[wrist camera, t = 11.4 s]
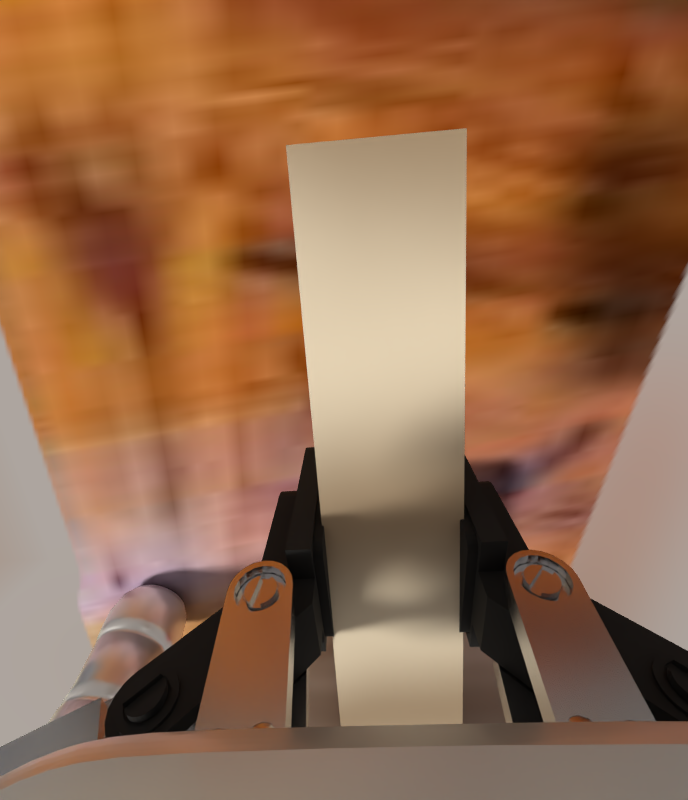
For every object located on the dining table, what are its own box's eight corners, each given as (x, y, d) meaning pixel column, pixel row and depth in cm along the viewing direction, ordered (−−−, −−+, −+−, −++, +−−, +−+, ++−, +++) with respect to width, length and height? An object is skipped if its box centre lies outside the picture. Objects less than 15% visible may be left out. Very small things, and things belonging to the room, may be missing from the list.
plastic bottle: (190, 576, 33) (-10, 995, 15) (197, 626, 36) (36, 1034, 17) (118, 571, 33) (-174, 987, 15) (131, 622, 36) (-102, 1028, 17)
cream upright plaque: (234, 225, 11) (141, 158, 6) (502, 202, 11) (623, 113, 6) (285, 615, 14) (249, 768, 10) (491, 608, 14) (562, 764, 9)
